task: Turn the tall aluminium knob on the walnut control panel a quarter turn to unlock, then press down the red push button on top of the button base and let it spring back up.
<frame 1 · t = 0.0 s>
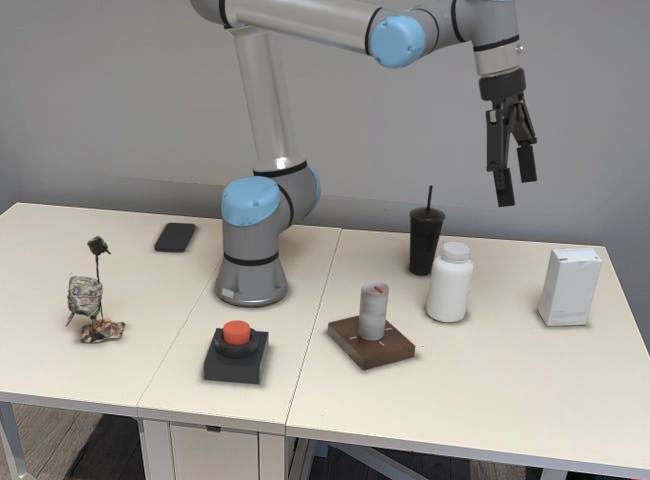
hand: (518, 193, 137), 28 cm above the table, tool tilted 20°, fingers open, 13 cm apart
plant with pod: (97, 334, 150), on the table
button base: (237, 363, 141), on the table
control panel: (369, 344, 147), on the table
pill bottle: (445, 314, 157), on the table
dial: (373, 310, 142), point 8 cm above the table, hinge at 0.0°
phone: (175, 239, 186), on the table
drinking cup: (420, 271, 172), on the table
red push button: (236, 332, 137), point 7 cm above the table, slide at 0.1 cm
cosmetic box: (560, 320, 155), on the table
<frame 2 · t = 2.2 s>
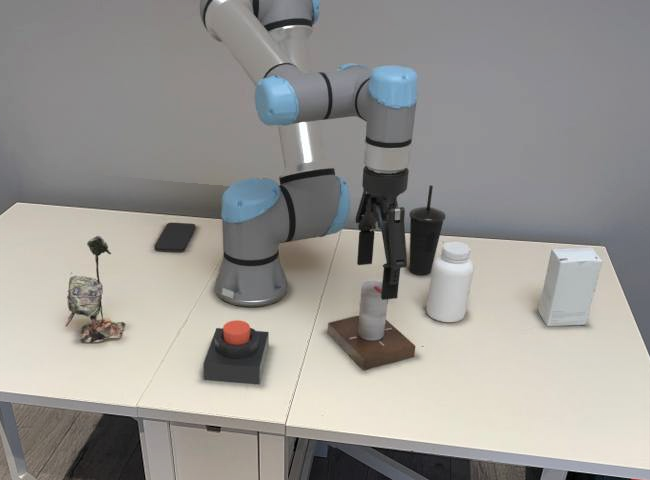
hand: (376, 280, 139), 14 cm above the table, tool pointing down, fingers open, 13 cm apart
nothing on the table moved.
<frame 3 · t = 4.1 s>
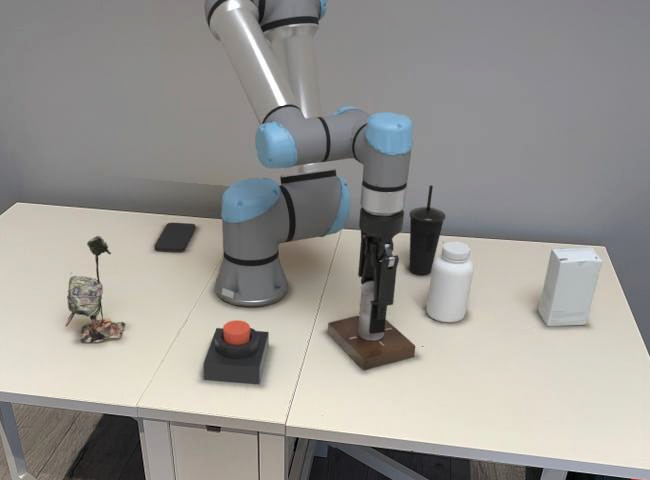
hand: (371, 323, 144), 5 cm above the table, tool pointing down, fingers closed on dial, 5 cm apart
dial: (373, 310, 142), point 8 cm above the table, hinge at 0.0°, touching gripper
everything else where it was.
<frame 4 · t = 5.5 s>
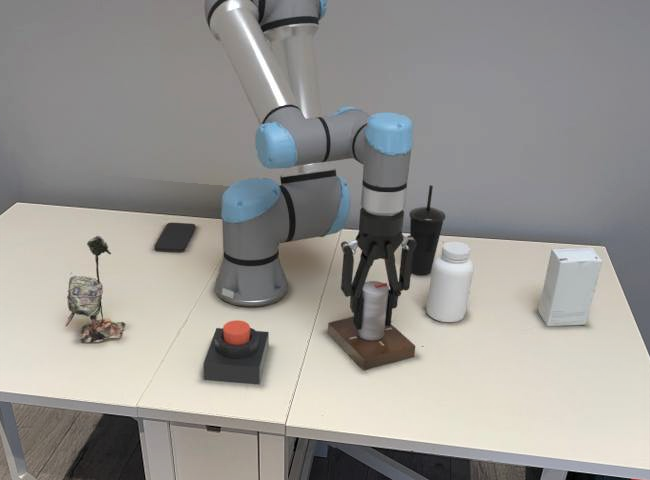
hand: (371, 323, 144), 5 cm above the table, tool pointing down, fingers closed on dial, 5 cm apart
dial: (373, 310, 142), point 8 cm above the table, hinge at 89.6°, touching gripper
everything else where it was.
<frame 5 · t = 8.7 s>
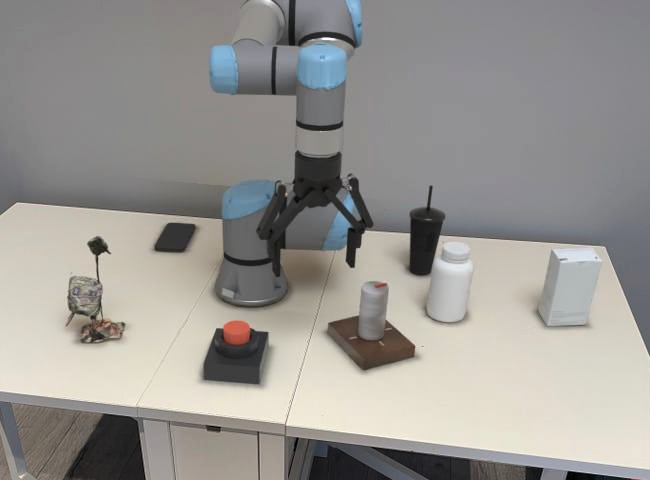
hand: (313, 269, 134), 18 cm above the table, tool pointing down, fingers open, 13 cm apart
dial: (373, 310, 142), point 8 cm above the table, hinge at 89.6°
everything else where it was.
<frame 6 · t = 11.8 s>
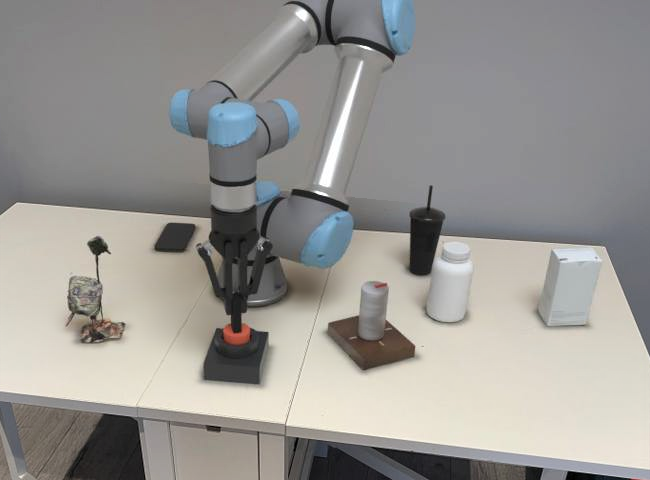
hand: (236, 328, 137), 8 cm above the table, tool pointing down, fingers closed
red push button: (236, 334, 138), point 6 cm above the table, slide at -0.4 cm, touching gripper
everything else where it was.
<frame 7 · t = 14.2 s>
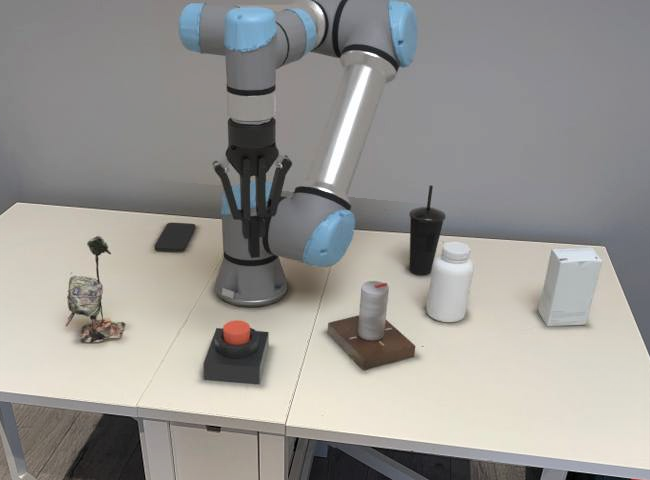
hand: (254, 253, 132), 21 cm above the table, tool pointing down, fingers closed
red push button: (236, 332, 137), point 7 cm above the table, slide at 0.1 cm
everything else where it was.
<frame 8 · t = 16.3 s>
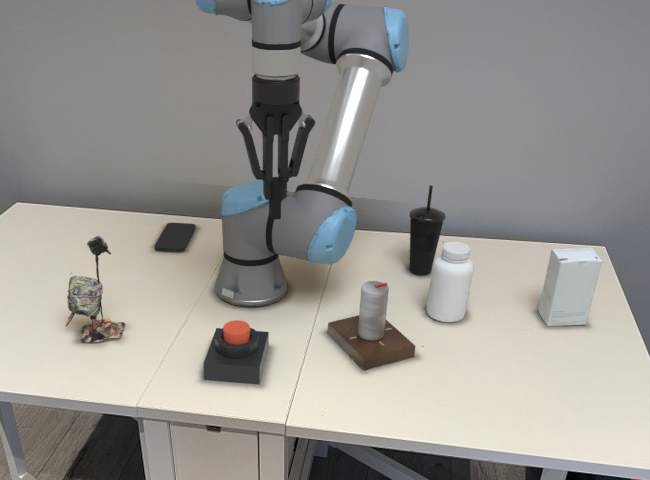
hand: (274, 216, 132), 26 cm above the table, tool pointing down, fingers closed
nothing on the table moved.
at the end: dial at +90° (first picture: +0°); red push button pushed in 1.3 cm at the most during the clip, back to where it started at the end; red push button slide at 0.1 cm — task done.
